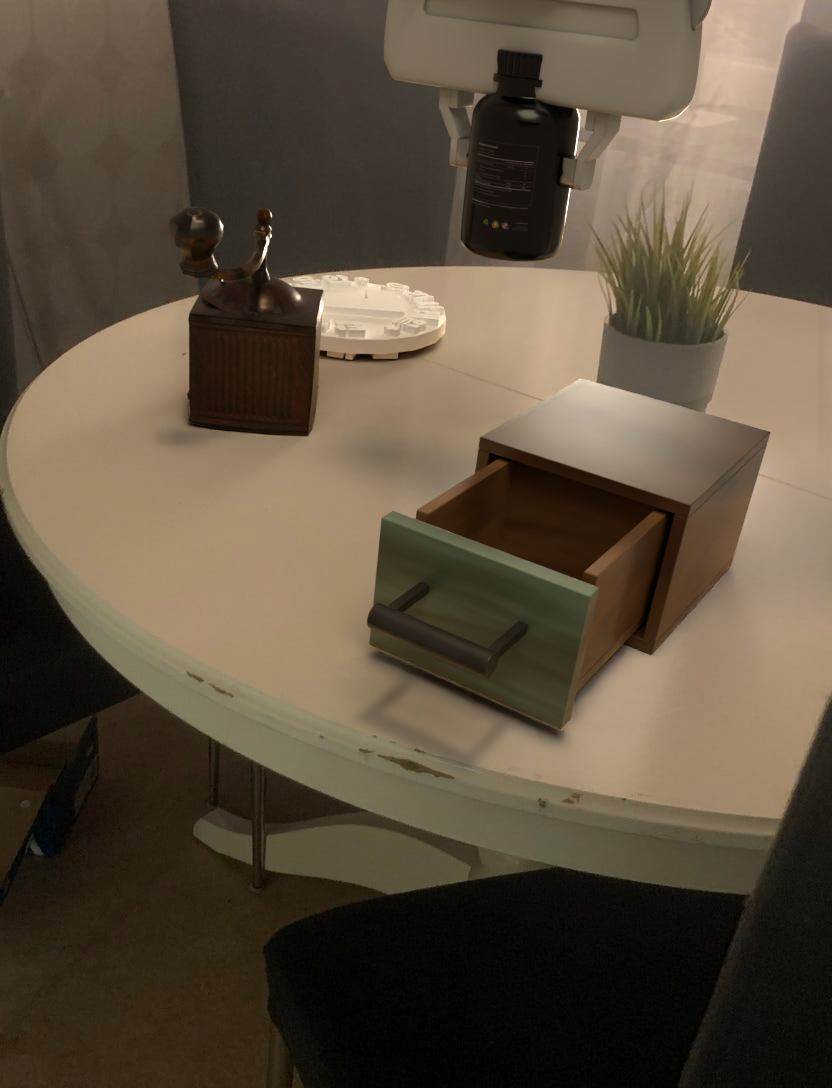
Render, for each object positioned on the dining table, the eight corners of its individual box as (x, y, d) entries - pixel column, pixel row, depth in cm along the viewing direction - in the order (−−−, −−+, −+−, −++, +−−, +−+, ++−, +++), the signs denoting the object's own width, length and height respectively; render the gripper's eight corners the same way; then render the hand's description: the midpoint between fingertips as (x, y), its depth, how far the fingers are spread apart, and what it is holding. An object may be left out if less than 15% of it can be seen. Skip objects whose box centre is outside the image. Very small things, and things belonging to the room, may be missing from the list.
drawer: (517, 776, 56) (545, 638, 51) (318, 682, 61) (327, 549, 57) (656, 627, 69) (688, 505, 64) (482, 560, 74) (500, 444, 70)
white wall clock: (296, 290, 126) (298, 264, 125) (464, 320, 122) (467, 293, 120) (220, 339, 110) (221, 310, 109) (410, 376, 106) (413, 345, 104)
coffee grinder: (198, 381, 101) (197, 168, 91) (320, 391, 101) (333, 180, 91) (166, 451, 88) (162, 211, 78) (307, 462, 88) (320, 225, 78)
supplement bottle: (479, 231, 79) (503, 39, 72) (572, 248, 76) (605, 51, 70) (442, 251, 73) (463, 46, 67) (540, 269, 71) (573, 59, 65)
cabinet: (651, 655, 68) (691, 505, 62) (459, 579, 74) (479, 436, 68) (731, 566, 78) (770, 431, 73) (556, 506, 84) (581, 377, 79)
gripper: (744, -62, 62) (687, 199, 70) (434, -85, 72) (414, 147, 79) (703, -65, 58) (648, 213, 65) (378, -90, 67) (363, 156, 75)
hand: (517, 176), depth 72 cm, fingers closed on supplement bottle, 7 cm apart
